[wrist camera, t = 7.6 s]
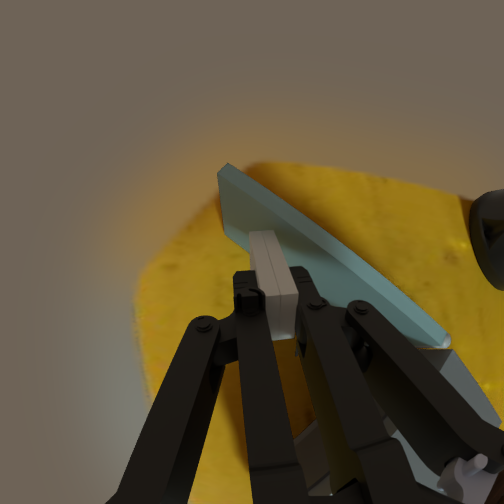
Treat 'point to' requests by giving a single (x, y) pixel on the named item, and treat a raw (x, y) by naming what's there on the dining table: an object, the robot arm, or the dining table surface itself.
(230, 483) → the dining table surface
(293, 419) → the dining table surface
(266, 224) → the side door
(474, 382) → the case
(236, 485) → the dining table surface
